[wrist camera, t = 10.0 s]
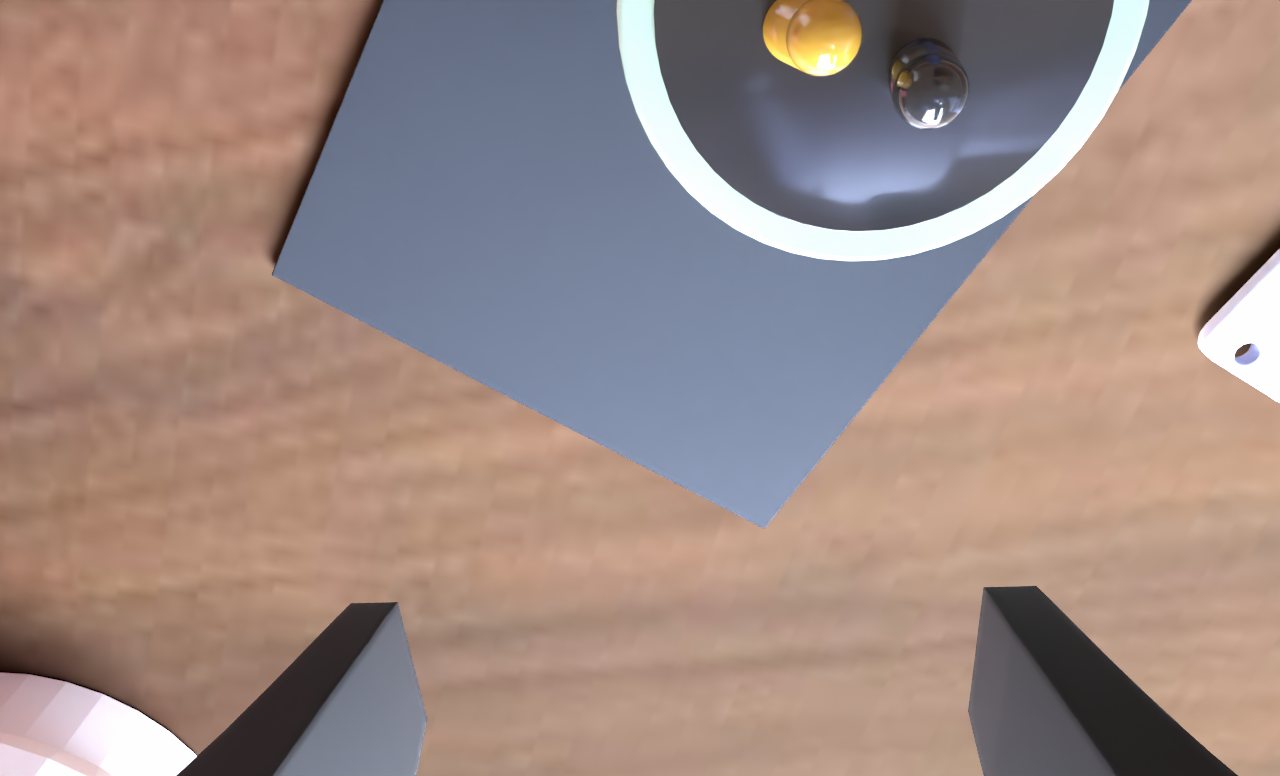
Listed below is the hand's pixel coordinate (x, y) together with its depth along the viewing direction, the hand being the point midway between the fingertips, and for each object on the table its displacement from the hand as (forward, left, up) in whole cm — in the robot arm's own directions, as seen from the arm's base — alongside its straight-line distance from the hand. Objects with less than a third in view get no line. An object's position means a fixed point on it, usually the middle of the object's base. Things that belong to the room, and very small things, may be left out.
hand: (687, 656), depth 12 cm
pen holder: (+2, -7, -10) cm, 13 cm away
